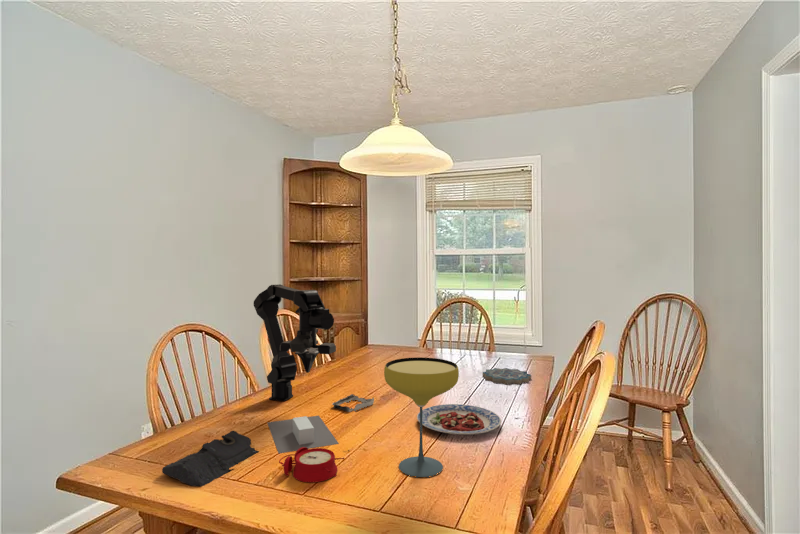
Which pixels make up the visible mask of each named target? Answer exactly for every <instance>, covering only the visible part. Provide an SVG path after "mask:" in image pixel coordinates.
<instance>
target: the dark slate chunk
mask: <svg viewBox="0 0 800 534" xmlns="http://www.w3.org/2000/svg"><path fill="white" fill-rule="evenodd" d="M251 445H252V440H251V438H250V437H249V436H246V435H244V434H241V433H239V432H237V431H236V430H231V431H229V432H228V433H226V434H223V435H221V439H216V438H215V439H213V440H211V441H209V442H205V443H203V445H202V446H201V448H200V449H199V450H198V451H197V452H193V453H189V454H187V455H186V456H184V457H182V458H180V459H178V460H177V461H174V462H171V463H169V464H167V465H166V466H165V465H164V466H163V467H162V469H161V473H162V474H164V475H165V476H166V475H167V476H169V477H170V478H173V479H176V480H179V482H180V483H183V484H186V485H188V486H191V487H205V486H206V485H208V484H210V483H212V482H213V481H215V480H217V479H220V478H221V477H223V476H224V475H227V474H228V473H230V472H232V471H234V470H235V468H233V467H234V466H236V465H239V464H240V463H242V462H244V461H246V460H248V459H249V458H252V456H254V455H257V454H258V453H260V451H259V450H258V449H257V450H256V448H255V447H251Z"/></svg>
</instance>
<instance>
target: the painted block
mask: <svg viewBox="0 0 800 534" xmlns="http://www.w3.org/2000/svg"><path fill="white" fill-rule="evenodd" d="M307 417H308V416H307V415H305V416H296V417H293V418H292V419H293V433H294V435H295V437H296V439H297V441H298V443H299V445H301V444H307V443H313V442H314V427H313V426H312V424H311V422H310V421H309V419H308V418H307Z"/></svg>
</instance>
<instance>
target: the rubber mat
mask: <svg viewBox="0 0 800 534" xmlns="http://www.w3.org/2000/svg"><path fill="white" fill-rule="evenodd" d="M307 418H308V419H309V421H310V422H311V424H312V426H313V427H314V442H313V443H307V444H301V445H299V443H298V441H297V439H296V437H295V435H294V433H293V418H292V419H283V420H276V421H269V422H266V423H267V426H268V429H269V431H270V432H269V433H270V434H271V437H272V440H273V442H274V445H275V448H276V451H277V453H278V454H286V453H291V452H296V451H297V450H298V449H299V448H302V447H306V448H308V449H314V448H322V447H327V446H335V445H339V444H340V443H339V441H338V440H337V439H336V437H335V436H334V434H333V433H332V431H331V430H330V429H329V428H328V426H327V424H325V422H324V421H323V419H322V418H321V417H320V415H314V416H313V415H312V416H307Z"/></svg>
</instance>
